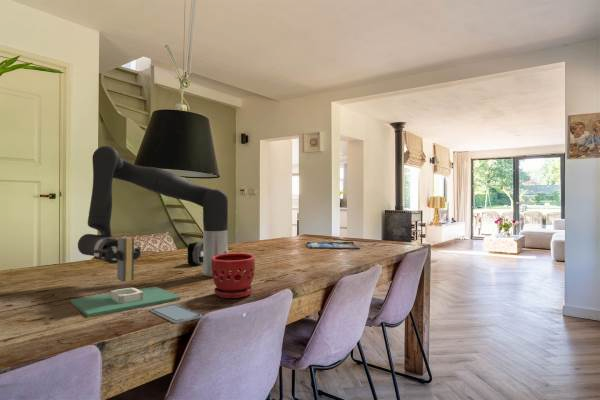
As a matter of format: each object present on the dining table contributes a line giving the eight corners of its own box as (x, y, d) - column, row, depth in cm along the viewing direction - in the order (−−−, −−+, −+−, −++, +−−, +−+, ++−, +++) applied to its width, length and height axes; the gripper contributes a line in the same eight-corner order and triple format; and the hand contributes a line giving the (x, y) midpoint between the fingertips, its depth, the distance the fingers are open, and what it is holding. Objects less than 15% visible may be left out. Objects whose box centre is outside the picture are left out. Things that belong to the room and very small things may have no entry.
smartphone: (174, 303, 102) (203, 315, 92) (174, 306, 102) (203, 318, 92) (148, 309, 97) (175, 321, 86) (148, 312, 97) (175, 325, 86)
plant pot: (207, 292, 116) (208, 254, 116) (248, 288, 122) (248, 252, 122) (215, 302, 104) (215, 260, 104) (260, 298, 110) (260, 257, 110)
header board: (155, 288, 121) (155, 280, 121) (180, 299, 107) (180, 290, 107) (70, 302, 104) (70, 292, 104) (87, 317, 91) (87, 305, 91)
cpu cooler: (198, 266, 162) (198, 243, 162) (186, 266, 163) (186, 243, 163) (208, 262, 172) (208, 241, 172) (197, 262, 173) (197, 240, 174)
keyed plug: (128, 277, 108) (128, 236, 108) (134, 280, 105) (135, 238, 105) (117, 278, 106) (117, 237, 106) (123, 281, 103) (123, 238, 103)
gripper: (85, 239, 111) (102, 244, 99) (133, 236, 121) (154, 241, 108) (85, 264, 111) (101, 272, 99) (133, 259, 121) (154, 267, 108)
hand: (129, 256), depth 104 cm, fingers closed on keyed plug, 3 cm apart
